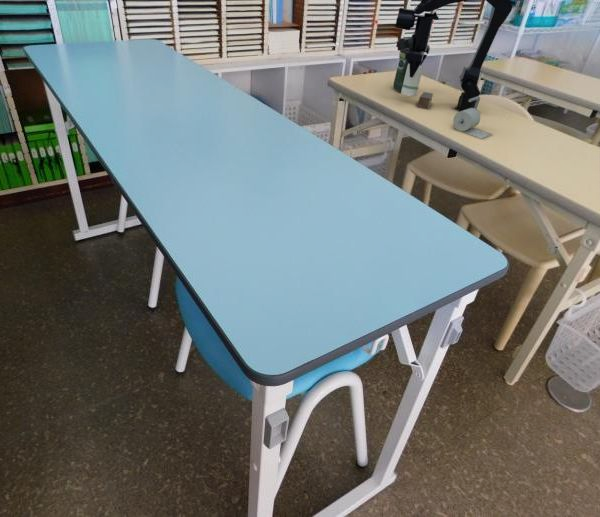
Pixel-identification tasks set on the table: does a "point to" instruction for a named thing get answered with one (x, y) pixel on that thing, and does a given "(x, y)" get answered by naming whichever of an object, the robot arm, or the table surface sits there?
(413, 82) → the cylindrical container with lid
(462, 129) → the toilet paper roll
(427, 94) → the wooden block
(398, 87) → the coffee jar
